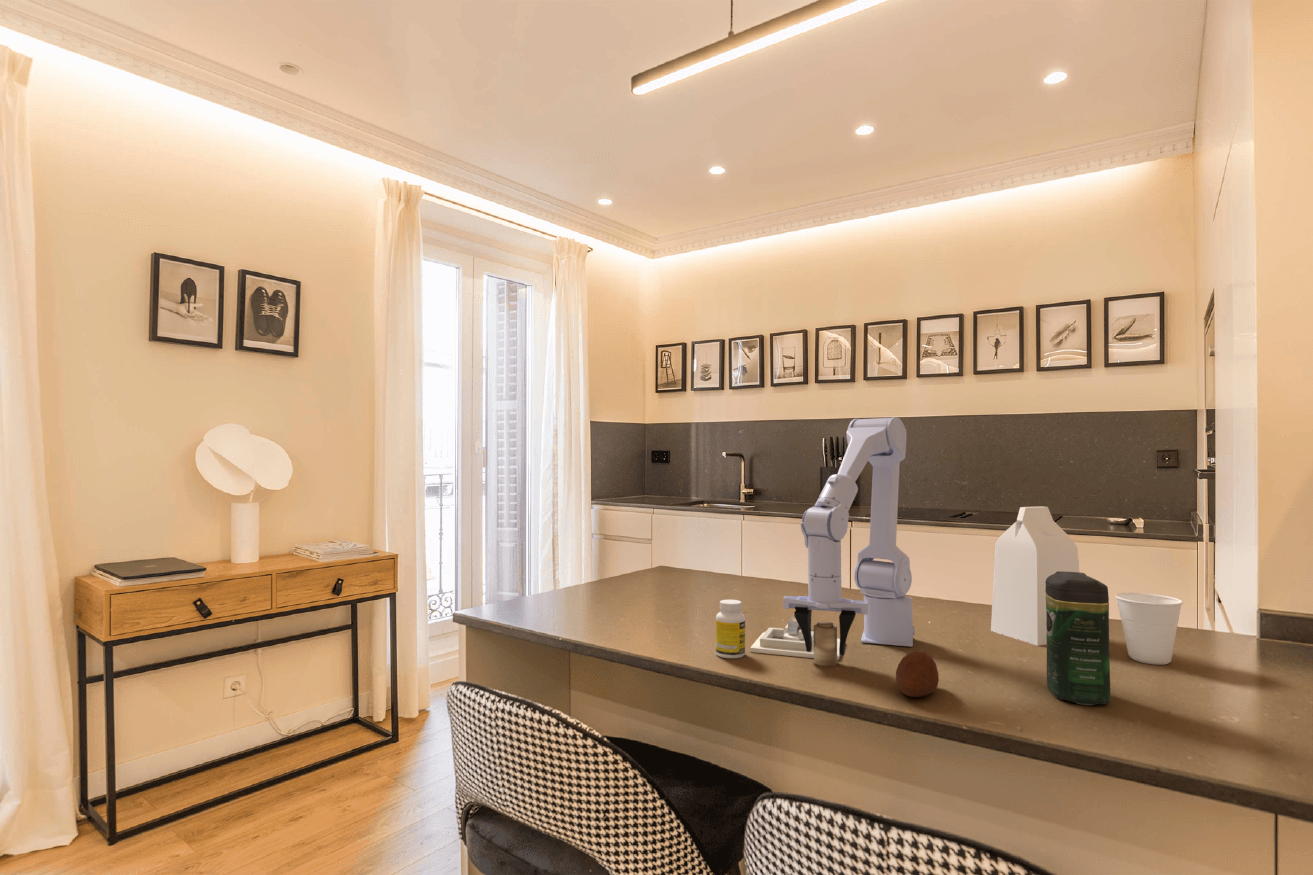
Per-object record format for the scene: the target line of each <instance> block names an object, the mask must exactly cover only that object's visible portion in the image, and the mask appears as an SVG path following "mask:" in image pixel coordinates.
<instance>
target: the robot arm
mask: <svg viewBox="0 0 1313 875" xmlns="http://www.w3.org/2000/svg"><path fill="white" fill-rule="evenodd" d="M846 442H847V448H846V451H845V452H844V456H843V457H842V458H843V459H842V461H841V463H840V466H839V469H838V471H837V473H836V474H831V475H830V476H829V477H828V478H827V480H826V483H825V485H824V486H823V488H822V490H821V492H820V494H819V496H818V498H817V500H816V502H815V504H814V506H811V507H809V508H808V509H806V510H805V511H804V513H803V515H802V518H801V522H800V530H801V533H802V535H803V537H804V546H805V548H807V573H808V574H807V581H808V582H807V583H808V584H807V587H808V588H807V592H808V595H805V596H804V595H802V596H801V595H796V596H795V595H792V596H790V595H784V597H783V598H782V608H783V609H784V610H785V609H786V610H789V609H795V613H794V612H793V614H794V616H795V618H796V620H797V622H798V624H799V626H800V629H801V631H802V634H803V637H804V641H805V645H806V651H807V652H811V650H812V636H811V631H812V614H813V613H812V612H813V611H822V612H823V611H825V612H835V613H836V612H837V613H839V617H838V620H839V621H838V622H839V639H840V646H839V655H840V656H844V655H845V650H846V643H847V638H848V635H849V632H850V629H851V627H852V625H853V622H854V620H855V617H856V614H861V615H863V623H864V624H863V626H864V627H863V631H862V635H861V638H860V642H861V643H863V644H864V643H865V644H866V643H867V644H876V645H889V646H891V645H892V646H899V647H900V646H901V647H911V648H912V647H914V636H915V634H916V633H915V632H916V631H915V628H916V627H915V625H914V624H913V623H914V622H913V619H914V618H913V616H914V615H913V597H911V596H906V595H907V594H908V592H909V591H910V589H911V586H912V581H913V580H912V579H913V577H912V576H913V575H912V570H911V565H910V564H911V563H910V562H911V561H910V557H909V556H908V555H907V554H906V553H905V552H903V551H902V550H901V548H900V547H898V546H897V534H898V533H897V530H898V507H899V506H898V505H899V487H900V486H899V485H900V484H899V483H900V462H902V461H903V460H905V459H906V453H907V429H906V427H905V425H904V423H903V421H902V420H901V418H900V417H898V416H892V417H885V418H883V417H882V418H880V417H879V418H862V419H861V418H854V419H852V420H851V421H850V423H849V424H848V427H847V430H846ZM868 462H869V464H870V465H871V466H872V479H871V480H872V483H871V484H872V485H871V502H870V504H871V506H870V522H869V524H870V526H869V543H868V545H867V546H865V547H864V548H862V549H860V551H859V552H858V553H857V559H856V564H855V567H854V570H853V579H854V583H855V586H856V587H857V589H858V590H860V594H863V600H855V599H851V598H850V599H849V598H843V597H842V539H844V538H845V536H846V534H847V533H848V528H849V527H848V526H849V518H850V517H849V516H850V513H849V511H850V508H851V506H852V504H853V501H854V500H855V498H856V497H857V493H858V492H859V487H858V484H857V483H856V481H857V480H858V478H859V476H860V474H862V471H863V470H864V468H865V466H866V465H867V463H868ZM874 559H879V560H874ZM883 560H885V561H883ZM886 560H887V561H886ZM890 561H891V562H890Z"/></svg>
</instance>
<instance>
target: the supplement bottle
mask: <svg viewBox="0 0 1313 875" xmlns="http://www.w3.org/2000/svg"><path fill="white" fill-rule="evenodd" d="M719 610H720V611H719V612H717V614H716V616H715V654H716V655H717V657H720V658H723V659H741V658H743V657H745V655H746V616H745V615H744V614H743V613H742V612H741V611H742V601H740V600H738V599H722V600H720V601H719Z"/></svg>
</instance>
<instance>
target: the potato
mask: <svg viewBox="0 0 1313 875" xmlns="http://www.w3.org/2000/svg"><path fill="white" fill-rule="evenodd" d="M895 670H896V671H895V677H896V678H895V679H896V686H897V688H898V690H899V691H900V692H901V693H902V694H903V695H905V696H907V697H909V698H921V697H926V696H928V695H929V694H932V692H935V691H936V690H937V688H938V686H939V681H940V679H939V677H940V676H939V670H938V667H937V663H936V662H935V660H934V659H933V656H931V654H929V653H928V652H926V651H925V650H920V649H916V650H915V649H914V650H911V651H909V652H907V654H905V655H904V656H903V657H902V658H901V660H900V661H899V663H898V664H897V668H896V669H895Z"/></svg>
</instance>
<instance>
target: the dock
mask: <svg viewBox="0 0 1313 875" xmlns="http://www.w3.org/2000/svg"><path fill="white" fill-rule="evenodd" d="M811 636H812V650H811V652H807V651H806V645H805V641H804V637H803V634H802V631H801V629H800V630H799V633H798V634H797V635H790V634H788V623H787V624H786V625H785V627H784V628H780V627H768V628H767V630H766V631H763V632H762V633H761V634H760V636H759V637H758V638H756V640H755V641H754V642H753V644H752V645H751V646H750V650H749V651H750V653H757V654H768V655H775V656H776V655H777V656H787V657H789V656H790V657H797V658H806V659H807V658H808V659H809V658H810V659H814V630H811ZM839 646H840V638H838V637H837V662H839V660H840V657H841V655H839Z"/></svg>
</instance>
